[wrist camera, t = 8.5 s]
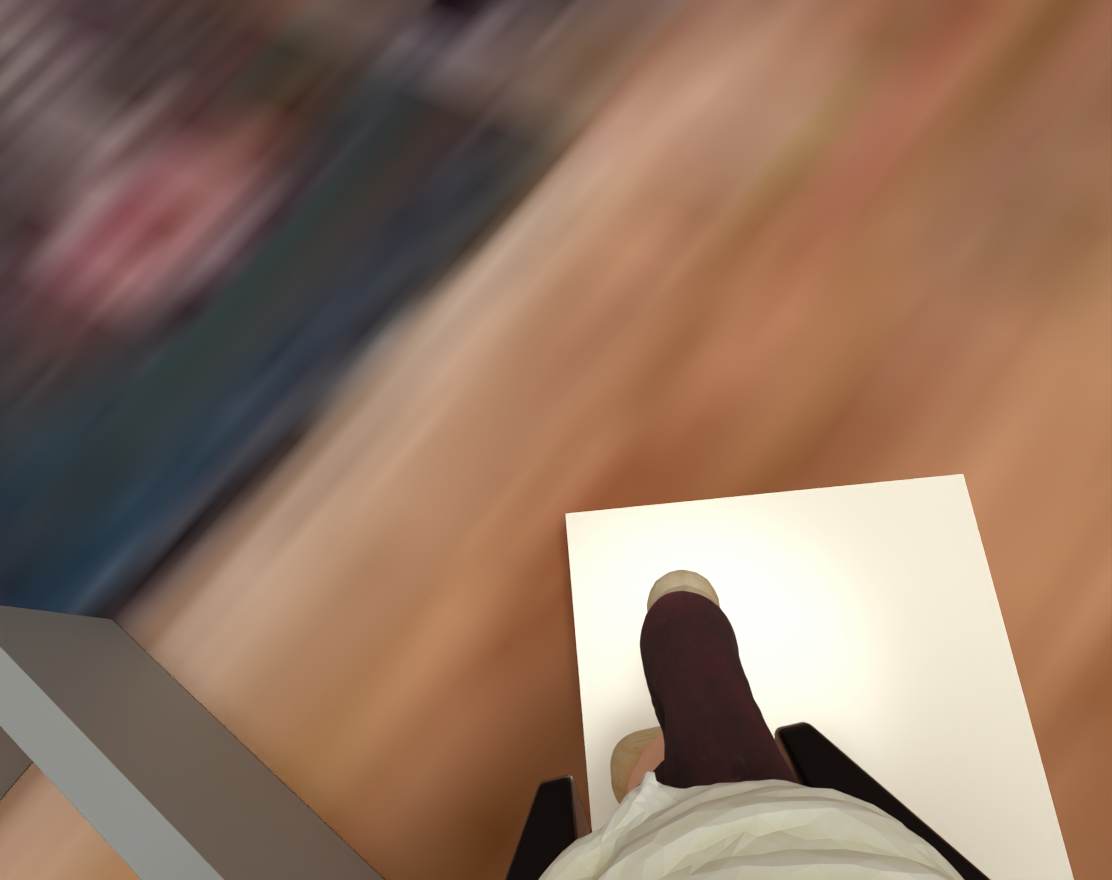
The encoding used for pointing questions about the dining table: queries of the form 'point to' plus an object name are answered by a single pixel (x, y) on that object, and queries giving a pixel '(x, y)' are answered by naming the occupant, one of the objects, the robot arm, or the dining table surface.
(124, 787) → the open crate
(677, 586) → the grandmother figurine
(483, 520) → the dining table surface
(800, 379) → the dining table surface
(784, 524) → the ceramic tile
